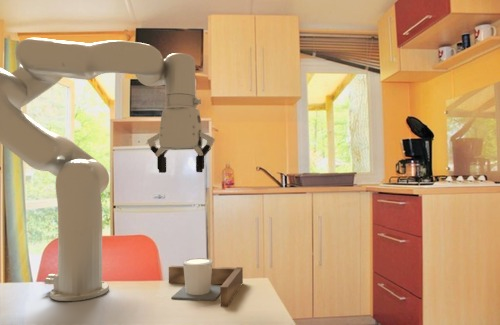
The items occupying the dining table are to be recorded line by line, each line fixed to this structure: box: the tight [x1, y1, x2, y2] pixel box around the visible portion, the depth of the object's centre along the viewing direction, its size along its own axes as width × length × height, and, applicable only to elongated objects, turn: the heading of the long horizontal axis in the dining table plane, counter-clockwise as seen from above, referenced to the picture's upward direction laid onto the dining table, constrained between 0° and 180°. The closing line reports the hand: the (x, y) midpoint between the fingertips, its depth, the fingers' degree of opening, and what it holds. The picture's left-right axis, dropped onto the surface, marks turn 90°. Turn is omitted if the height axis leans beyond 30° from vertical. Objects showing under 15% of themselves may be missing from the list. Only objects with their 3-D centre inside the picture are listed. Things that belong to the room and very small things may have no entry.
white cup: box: [182, 257, 214, 295], centre depth 87 cm, size 7×7×7 cm
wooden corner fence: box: [168, 265, 244, 308], centre depth 88 cm, size 19×17×4 cm
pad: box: [171, 284, 222, 302], centre depth 87 cm, size 10×10×1 cm
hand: (180, 172), depth 93 cm, fingers open, 9 cm apart
